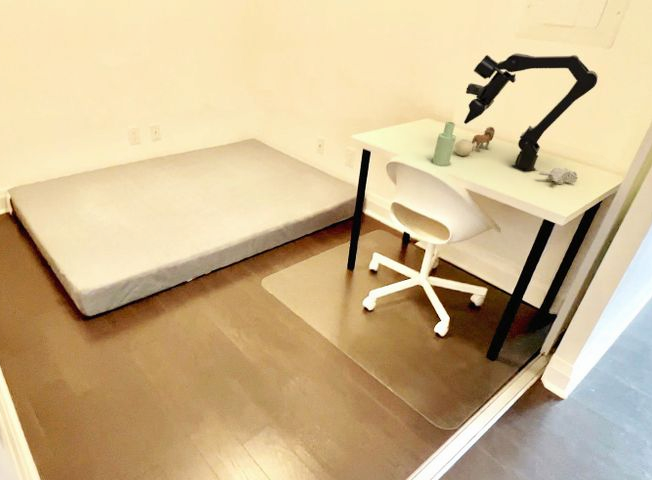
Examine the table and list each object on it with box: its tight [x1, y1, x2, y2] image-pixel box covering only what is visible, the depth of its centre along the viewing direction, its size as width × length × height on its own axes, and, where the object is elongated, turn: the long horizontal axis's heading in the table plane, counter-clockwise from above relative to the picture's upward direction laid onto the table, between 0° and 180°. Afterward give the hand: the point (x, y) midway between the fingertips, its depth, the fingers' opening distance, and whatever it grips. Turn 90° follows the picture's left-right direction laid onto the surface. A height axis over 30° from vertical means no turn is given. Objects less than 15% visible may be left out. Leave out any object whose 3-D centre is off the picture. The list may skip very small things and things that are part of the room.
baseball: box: [454, 138, 474, 157], centre depth 183 cm, size 7×7×7 cm
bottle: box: [432, 121, 457, 167], centre depth 172 cm, size 7×7×16 cm
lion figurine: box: [471, 126, 496, 152], centre depth 190 cm, size 15×5×9 cm, turn 129°
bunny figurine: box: [538, 166, 579, 185], centre depth 162 cm, size 10×5×15 cm
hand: (467, 120), depth 177 cm, fingers open, 9 cm apart
